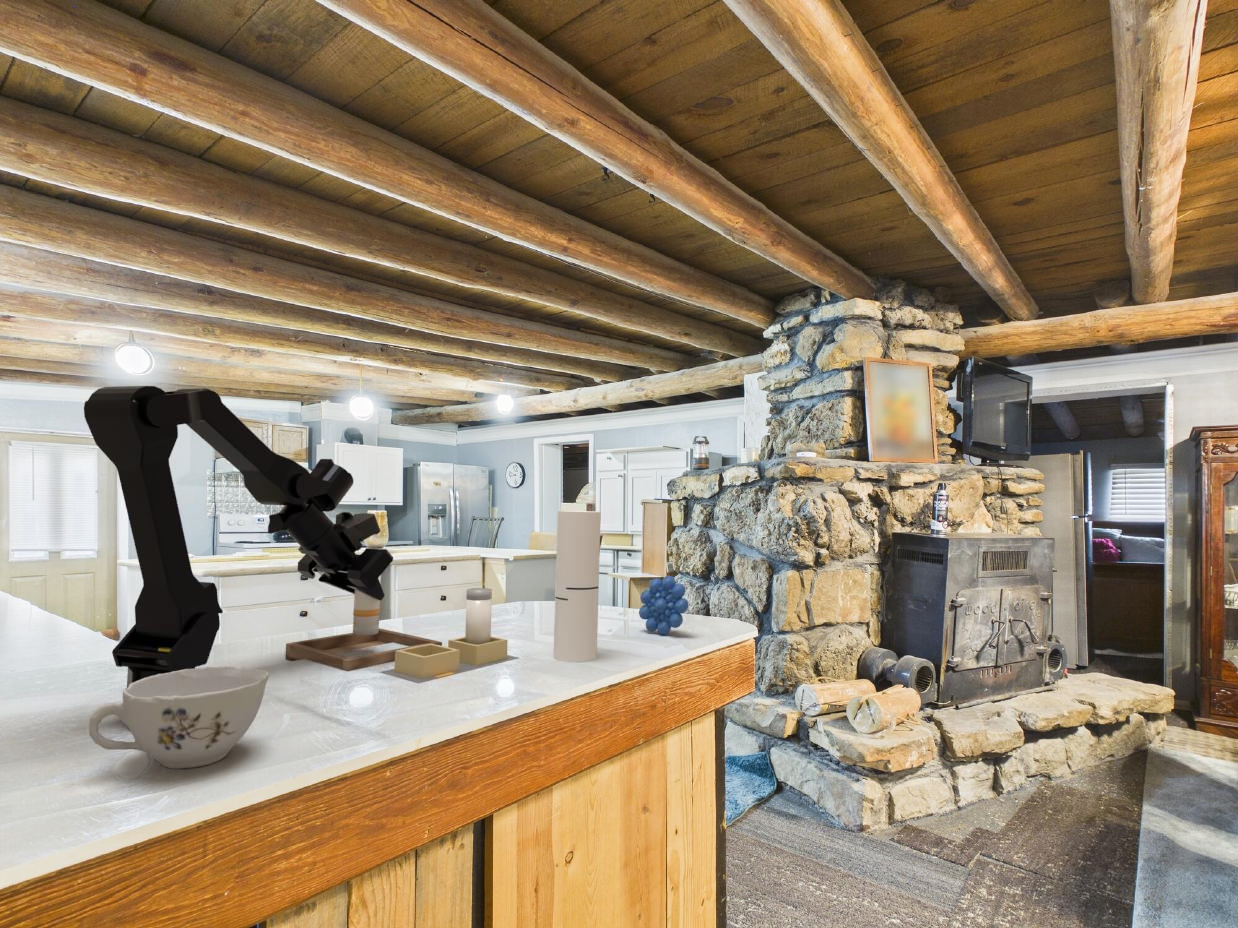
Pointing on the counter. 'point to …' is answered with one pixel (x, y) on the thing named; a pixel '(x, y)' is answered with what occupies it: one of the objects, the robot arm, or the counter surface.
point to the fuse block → (447, 659)
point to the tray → (327, 646)
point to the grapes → (663, 605)
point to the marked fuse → (366, 614)
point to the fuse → (478, 616)
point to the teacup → (186, 714)
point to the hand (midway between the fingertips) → (374, 596)
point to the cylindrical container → (577, 586)
